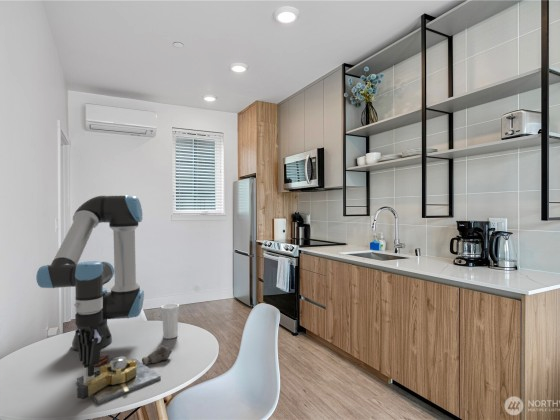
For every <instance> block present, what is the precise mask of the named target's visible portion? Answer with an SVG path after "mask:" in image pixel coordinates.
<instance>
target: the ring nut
mask: <svg viewBox="0 0 560 420" xmlns="http://www.w3.org/2000/svg"><path fill="white" fill-rule="evenodd" d="M136 360H137V359H136ZM136 360H133V359H127V369H125V370H124V371H121V368H116V372H111V362H109V363H106V364H103V365H101V366H100V369H99V371H100V375H99V376H97V377H95V378H93V379H92V380H90V381H88V382H86V383H84V384H83V385H78V386H77V387H76V388H77V390H76V392H77V393H76V396H77V397H76V398H77V399H80V400H85V399H87V398H89V397H91V396H90V395H92V394H93V393H95V392H97V391H98V390H100V389H102V388H103V387H105V386H107V385H108V384H109V385H111V384H112V385H113V384H118V383H123V382H125V381H128V380H130V379H132V378H133V377H135V376H136V375H137V373H136Z"/></svg>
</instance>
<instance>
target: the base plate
mask: <svg viewBox="0 0 560 420" xmlns="http://www.w3.org/2000/svg"><path fill="white" fill-rule="evenodd" d="M127 360H128V358H127V357H126V356H124V355H123V356H117V357H116V356H115V357H113V358H111V359H110V363H111V372H116V368H121V371H124V370H125V369H127ZM132 360H136V373H137V375H136V376H135V377H133V378H132V379H130V380H128V381H125V382H123V383H118V384H113V385H112V384H111V385H109V384H108V385H107V386H105V387H103V388H102V389H100V390H98V391H97V392H95V393H93V394H92V395H90V396H89V397H90V398H91V399H92V400H93V401H94V402H95V403H96V404H97V405H100V404H103V403H106V402H108V401H111V400H113V399H115V398H118V397H120V396H123V395H125V394H128V393H130V392H133V391H136V390H138V389H140V388H143V387H145V386H148V385H151V384H152V383H153V384H154V383H155V382H158V381H160V380H162V379H161V377H162V376H161V375H160V374H159V373H157V372H156V371H155V370H153V369H151V368H149V366H147V365H146V366H145V365H144V364H143V362H142V361H139V360H138V359H136V358H133V359H132ZM99 375H100V370H97V371H94V378H95V377H97V376H99ZM76 383H77V384H78V386H80V385H83V384H84V375H82V376H79V377H77V378H76Z"/></svg>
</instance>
